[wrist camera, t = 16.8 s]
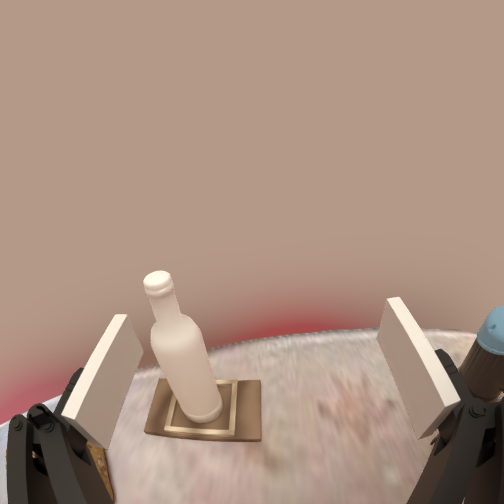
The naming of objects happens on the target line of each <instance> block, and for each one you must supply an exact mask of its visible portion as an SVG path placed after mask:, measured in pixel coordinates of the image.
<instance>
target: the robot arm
mask: <svg viewBox="0 0 504 504" xmlns="http://www.w3.org/2000/svg"><path fill="white" fill-rule="evenodd" d="M377 341H378V343H379V345H380V347H381V349H382V352H383V354H384V356H385V358H386V361H387V363H388V365H389V368H390V370H391V372H392V375H393V377H394V380H395V382H396V384H397V387H398V389H399V392H400V394H401V397H402V399H403V402H404V405H405V407H406V410H407V412H408V415H409V418H410V421H411V423H412V426H413V429H414V432H415V435H416V437H417V440H419V439H421V438H424V437H427V436H429V435H432V434H433V433H434V432H435V430H436V429H437V428H438V430H439V434H438V435H437V436H436V437H435V438H434V439H433V440H432V442H431V444H430V445H432V444H433V443H434V442H435V441H436V442H435V444H434V447H433V449H432V452H431V454H430V457H429V459H428V461H427V464H426V466H425V468H424V470H423V473H422V475H421V477H420V479H419V481H418V483H417V485H416V487H415V489H414V491H413V493H412V494H411V496H410V498H409V500H408V502H407V504H462V502H463V499H464V497H465V500H464V504H504V397H503V398H502V399H501V401H500V402H496V401H497V398H498V396H499V395H500V393H501V392H503V393H504V306H499V307H497V308H495V309H494V310H492V311H491V312H490V313H489V314H488V316H487V317H486V319H485V321H484V323H483V325H482V326H481V328H480V329H479V331H478V333H477V338H476V340H475V341H474V343H473V345H472V347H471V349H470V351H469V353H468V354H467V356H466V358H465V360H464V361H463V363H462V365H461V366H460V367H459V368H458V369H457V368H456V366H454V363H453V361H452V359H451V358H450V356H449V355H448V354H447V353H446V352H445V351H443V350H442V349H438V350H435V351H434V350H433V349H432V347H431V345H430V344H429V342H428V340H427V339H426V337H425V335H424V334H423V332H422V331H421V329H420V327H419V326H418V324H417V323H416V321H415V320H414V319H413V317H412V315H411V314H410V312H409V311H408V309H407V308H406V306H405V305H404V303H403V302H402V300H401V299H400V297H395V298H389V299H386V303H385V308H384V312H383V316H382V320H381V324H380V328H379V332H378V335H377ZM143 352H144V351H143V349H142V347H141V345H140V342H139V340H138V338H137V336H136V334H135V332H134V329H133V327H132V324H131V322H130V320H129V317H128V315H122V314H116V315H115V316H114V318H113V319H112V321H111V323H110V324H109V326H108V328H107V329H106V331H105V333H104V335H103V336H102V338H101V340H100V341H99V343H98V345H97V347H96V348H95V350H94V352H93V354H92V355H91V357H90V359H89V361H88V363H87V365H86V366H85V368H79V369H78V370H77V371H76V372H75V373H74V374H73V376H72V377H71V379H70V381H69V384H68V385H67V387H66V390H65V391H64V393H63V395H62V397H61V398H60V400H59V402H58V404H57V407H56V409H55V411H54V412H53V413H52V412H51V411H50V410H49V409H48V408H47V407H46V406H45V405H44V404H41V403H39V404H35V405H33V406H32V407H31V408H30V409H29V411H28V413H27V418H26V417H24V416H23V415H21V414H19V415H15V416H14V417H13V418H12V419H11V421H10V424H9V431H8V442H7V494H8V504H114V502H113V500H112V498H111V496H110V494H109V492H108V490H107V488H106V486H105V484H104V482H103V480H102V478H101V476H100V474H99V471H98V469H97V467H96V464H95V462H94V460H93V457H92V455H91V452H90V449H89V448H88V446H87V445H86V444H87V441H89V442H90V443H91V444H93V445H94V446H96V447H99V448H102V449H106V450H108V447H109V444H110V441H111V438H112V435H113V432H114V429H115V426H116V423H117V420H118V418H119V415H120V412H121V409H122V406H123V404H124V401H125V398H126V395H127V393H128V390H129V388H130V385H131V382H132V380H133V377H134V375H135V372H136V369H137V367H138V364H139V362H140V359H141V357H142V354H143ZM33 452H34V453H35V457H33Z"/></svg>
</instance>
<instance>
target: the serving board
mask: <svg viewBox="0 0 504 504" xmlns="http://www.w3.org/2000/svg"><path fill="white" fill-rule="evenodd" d="M215 381H216V385H217V388H218V391H219V393H220V395H221V399H222V404H223V409H222V413H221V414H220V416H219V417H218V418H217V419H215V420H214V421H212V422H209V423H202V424H199V423H195V422H192V421H191V420H190V419H188V418H187V416H186V415H185V414H184V412H183V411H182V409H181V407H180V404H179V402H178V400H177V399H176V397H175V395H174V393H173V391H172V389H171V387H170V385H169V383H168V381H167V379H160V378H159V381H158V385H157V388H156V391H155V394H154V398H153V401H152V404H151V408H150V411H149V415H148V418H147V422H146V425H145V429H144V432H145V433H146V434H151V435H158V436H165V437H173V438H181V439H192V440H205V441H230V442H252V441H261V382H260V380H245V381H238V380H215Z"/></svg>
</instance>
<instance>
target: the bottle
mask: <svg viewBox="0 0 504 504" xmlns="http://www.w3.org/2000/svg"><path fill="white" fill-rule="evenodd" d="M143 283H144V286H145V293H146V295H147V296H148V299H149V301H150V304H151V307H152V310H153V313H154V316H155V319H156V322H155V324H154V325H153V327H152V329H151V347H152V349H153V351H154V354H155V356H156V358H157V360H158V362H159V365H160V367H161V369H162V371H163V373H164V375H165V377H166V379H167V381H168V383H169V385H170V387H171V389H172V391H173V393H174V395H175V397H176V399H177V400H178V402H179V404H180V407H181V409H182V411H183V412H184V414H185V415H186V416H187V418H188V419H190V420H191V421H192V422H195V423H199V424H202V423H209V422H212V421H214V420H215V419H217V418H218V417H219V416H220V414H221V413H222V409H223V404H222V399H221V395H220V393H219V391H218V388H217V385H216V381H215V378H214V375H213V372H212V368H211V365H210V362H209V358H208V355H207V351H206V348H205V345H204V341H203V337H202V333H201V330H200V329H199V327H198V326H197V325H196V324H195V323H194V321H193V320H192V319H191V318H190V317H188V316H186V315H184V314H181V312H180V309H179V305H178V302H177V298H176V294H175V291H174V283H173V281H172V279H171V276H170V274H169V273H167V272H165V271H155V272H152V273H150V274H148V275H147V276H146V277H145V279H144V281H143Z"/></svg>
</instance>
